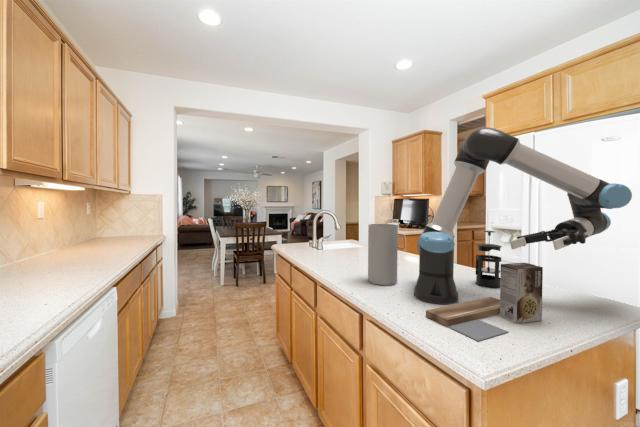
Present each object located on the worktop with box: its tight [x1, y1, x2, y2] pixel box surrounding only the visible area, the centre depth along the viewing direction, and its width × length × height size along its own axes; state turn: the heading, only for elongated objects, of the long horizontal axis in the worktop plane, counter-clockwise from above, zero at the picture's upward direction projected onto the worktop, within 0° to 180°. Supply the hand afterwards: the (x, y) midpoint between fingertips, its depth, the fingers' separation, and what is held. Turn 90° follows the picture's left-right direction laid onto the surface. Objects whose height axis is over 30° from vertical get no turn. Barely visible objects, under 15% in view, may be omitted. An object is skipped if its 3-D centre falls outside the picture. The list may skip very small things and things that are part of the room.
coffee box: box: [499, 262, 544, 324], centre depth 86 cm, size 9×6×16 cm
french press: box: [475, 230, 503, 289], centre depth 122 cm, size 12×9×23 cm
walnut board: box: [425, 296, 500, 328], centre depth 90 cm, size 8×30×2 cm, turn 115°
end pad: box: [447, 319, 509, 342], centre depth 78 cm, size 9×12×1 cm
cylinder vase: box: [367, 223, 399, 286], centre depth 126 cm, size 12×12×25 cm
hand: (531, 245), depth 92 cm, fingers open, 13 cm apart
